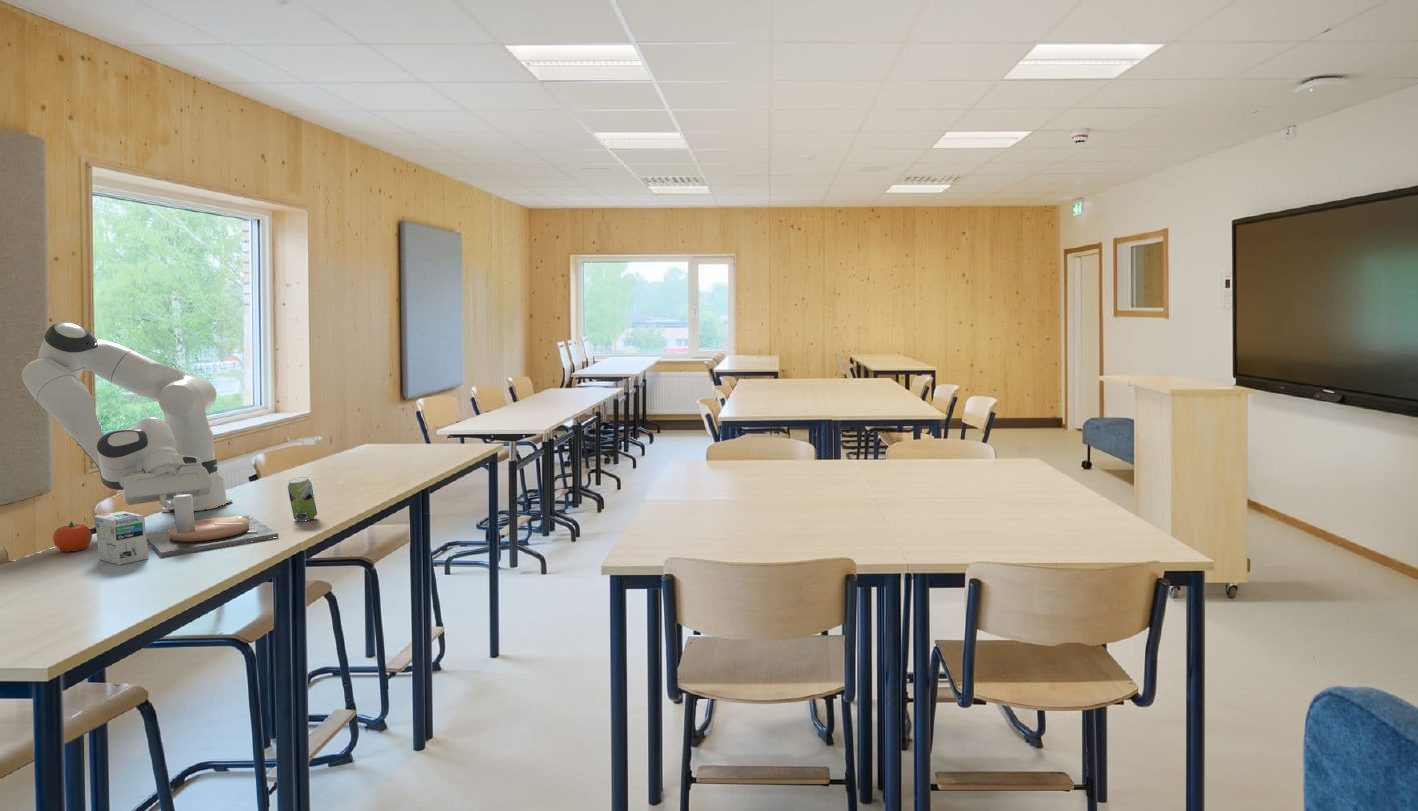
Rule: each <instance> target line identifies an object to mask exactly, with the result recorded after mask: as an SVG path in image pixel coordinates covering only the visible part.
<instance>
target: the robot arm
mask: <svg viewBox="0 0 1418 811" xmlns="http://www.w3.org/2000/svg"><path fill="white" fill-rule="evenodd" d="M40 345H41V346H40V348H39V351H38V357H37V359H34V360H32V361H30V362H29V363H27V364H26V365H25V366H24V367H23V370H22V372H21V380H22V382H23V384H24V386H25V387H26V390H28V392H29V393H30V394H31V396H32V397H33V399H34V400H35V401H36V402H37V403H38V404H39V405H40V406H41V407H42V408H43V409H44V410H45V411H46V412H47V413H48V414H49V415H50V416H51V417H53V419H54V420H55V421H56V422H57V423H58V424H59V425H60V426H61V427H62V428H63V429H64V430H65V432H66V433H68V434H69V435H70V436H71V438H72V439H73V440H74V441H75V443H77V445H78V446H79V448H80V449H81V450H82V451H83V452H84V453H85V455H87V456H88V458H90V460H91V461H92V462H93V463H94V464H95V466H96V467H97V468H98V471H99V474H100V480H101V483H102V484H103V485H104V486H105V487H107V488H108V489H111V490H116V491H123V501H124V502H123V503H124V504H126V505H128V506H132V505H133V506H134V505H140V504H141V505H142V504H147V503H155V502H159V505H161V506H162V509H161V512H162V513H175V509H174V496H178V495H185V494H191V495H192V501H193V512H196V511H199V512H200V511H205V509H206V510H211V509H216V508H219V507H218V506H220V507H222V506H221V505H223V506H225V505H227V504H226V503H229V502H232V501H233V499H232V498H228V497H227V491H226V484H225V478H224V476H222V475H221V474H220V473H218V470H219V468H218V460H217V459H216V455H215V442H214V433H213V431H212V430H211V428H210V423H209V421H208V418H207V413H206V412H207V411H208V410H210V408H212V406H213V405H214V404H215V402H216V400H217V390H216V388H215V386H214V385H213V384H212V383H211V382H210V381H208V380H206V379H203V378H201V377H198V376H195V375H193V374H190V373H188V372H185V371H182V370H180V369H177V368H175V367H171V366H169V365H167V364H164V363H161V362H159V361H157V360H154V359H152V358H150V357H148V356H145V355H144V354H141V353H139V352H137V351H135V350H133V349H130V348H128V347H126V346H123V345H121V344H118V343H115V342H112V341H108V340H105V339H101V338H100V339H99V338H98V339H97V338H96V337H95V336H94V335H93V334H91V332H90V331H89V330H87V329H86V328H84V327H83V326H81V325H80V324H78V323H77V324H76V323H75V322H71V321H70V322H69V321H62V322H55V323H53V324H51V326H50V327H48V329H47V330H46V332H45V333H44V338H43V340H42V343H41V344H40ZM85 371H86V372H92V374H94V375H96V376H98V377H99V378H101V379H103V380H105V381H107V382H109V383H111V384H113V385H115V386H117V387H120V388H122V389H124V390H126V391H128V392H131V393H132V394H135V395H137V396H140V397H143V398H147V399H151V400H154V401H157V402H158V404H159V407H160V409H161V410H162V412H163V415H164V419H165V420H163V419H162V418H159V417H146V418H145V417H144V418H142V419H140V420H139V421H138V422H137V423H135V424H134V425H133V426H131V427H127V428H124V429H119V430H113V431H110V432H108V433H106V434H104V432H103V430H102V428H101V426H100V424H99V420H98V417H97V413H96V407H95V402H94V399H93V397H92V394H91V393H90V391H89V390H88V387H87V386H86V385H85V384H84V383H83V381H81V380H80V379H81V377H82V375H83V374H84V373H83V372H85ZM232 503H233V502H232ZM224 504H225V505H224ZM229 504H230V503H229Z"/></svg>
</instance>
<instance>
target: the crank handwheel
mask: <svg viewBox="0 0 1418 811" xmlns="http://www.w3.org/2000/svg"><path fill="white" fill-rule="evenodd" d="M174 509H175V512H174V517H175V518H174V520H175V525H174V526H171V527H170V528H169V529H168V530H169V537H170V539H171V540H174V541H203V540H212V539H219V538H224V537H229V536H233V535H237V534H240V533H243V532H245V531H247V530H248V529H249V520H248V519H246V518H241V517H234V516H231V517H230V516H226V517H211V518H203V519H196V520H195V516H194V515H195V514H194V512H195V511H193V501H192V495H191V494H185V495H178V496H174Z"/></svg>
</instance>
